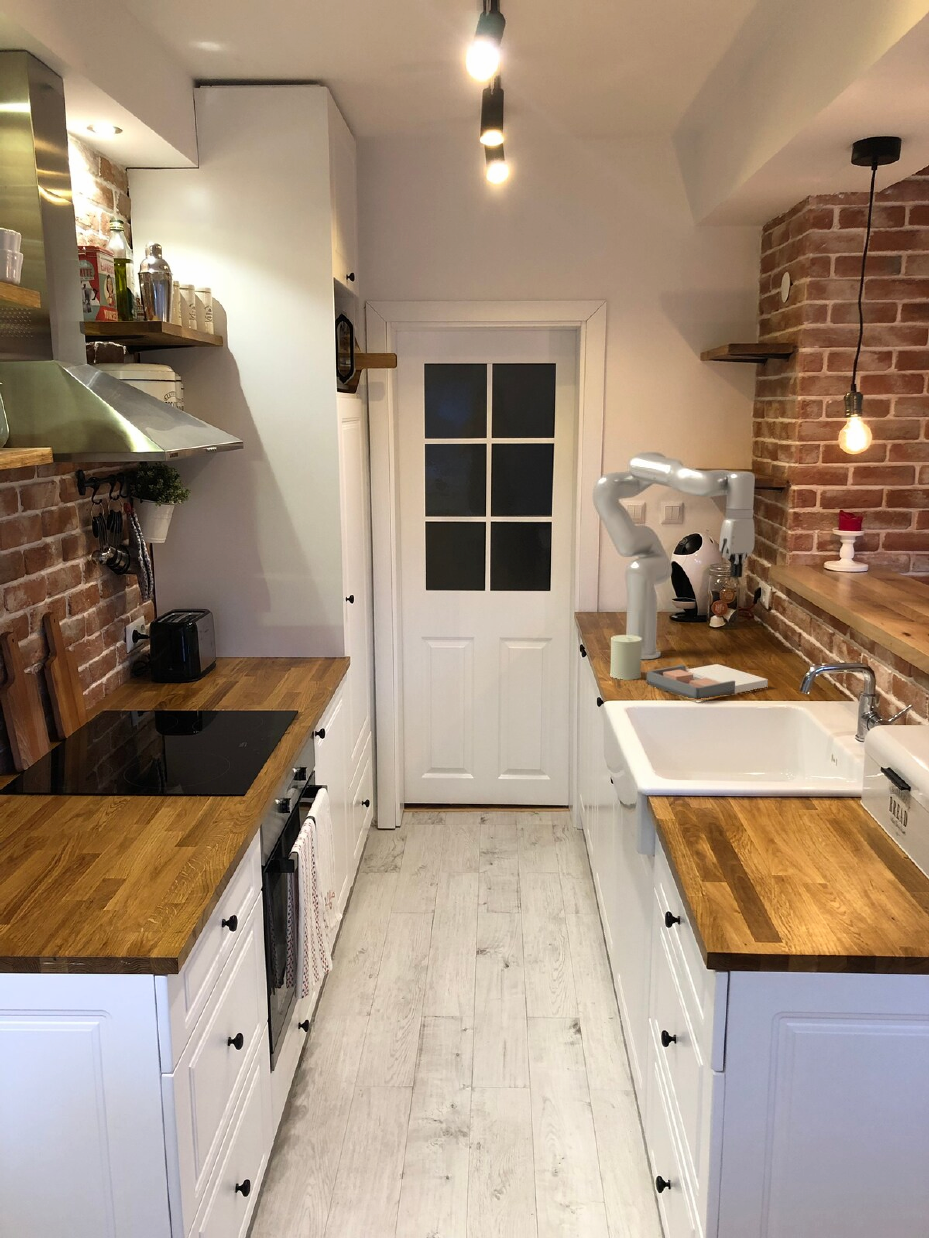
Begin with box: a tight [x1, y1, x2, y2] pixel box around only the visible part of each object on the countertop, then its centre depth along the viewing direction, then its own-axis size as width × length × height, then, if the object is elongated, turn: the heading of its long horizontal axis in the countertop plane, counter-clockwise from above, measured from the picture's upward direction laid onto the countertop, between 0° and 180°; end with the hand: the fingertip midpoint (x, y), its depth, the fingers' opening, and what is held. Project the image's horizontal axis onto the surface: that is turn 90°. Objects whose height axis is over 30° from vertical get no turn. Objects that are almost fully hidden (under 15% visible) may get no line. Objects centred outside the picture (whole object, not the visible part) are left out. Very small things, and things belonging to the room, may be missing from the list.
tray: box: [645, 664, 736, 699], centre depth 274 cm, size 21×14×4 cm
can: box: [609, 634, 642, 681], centre depth 288 cm, size 9×9×12 cm
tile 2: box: [690, 678, 719, 687], centre depth 270 cm, size 6×6×2 cm
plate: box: [686, 663, 769, 693], centre depth 281 cm, size 20×13×2 cm, turn 30°
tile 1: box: [663, 670, 693, 683], centre depth 279 cm, size 6×6×2 cm
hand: (736, 576), depth 287 cm, fingers closed
